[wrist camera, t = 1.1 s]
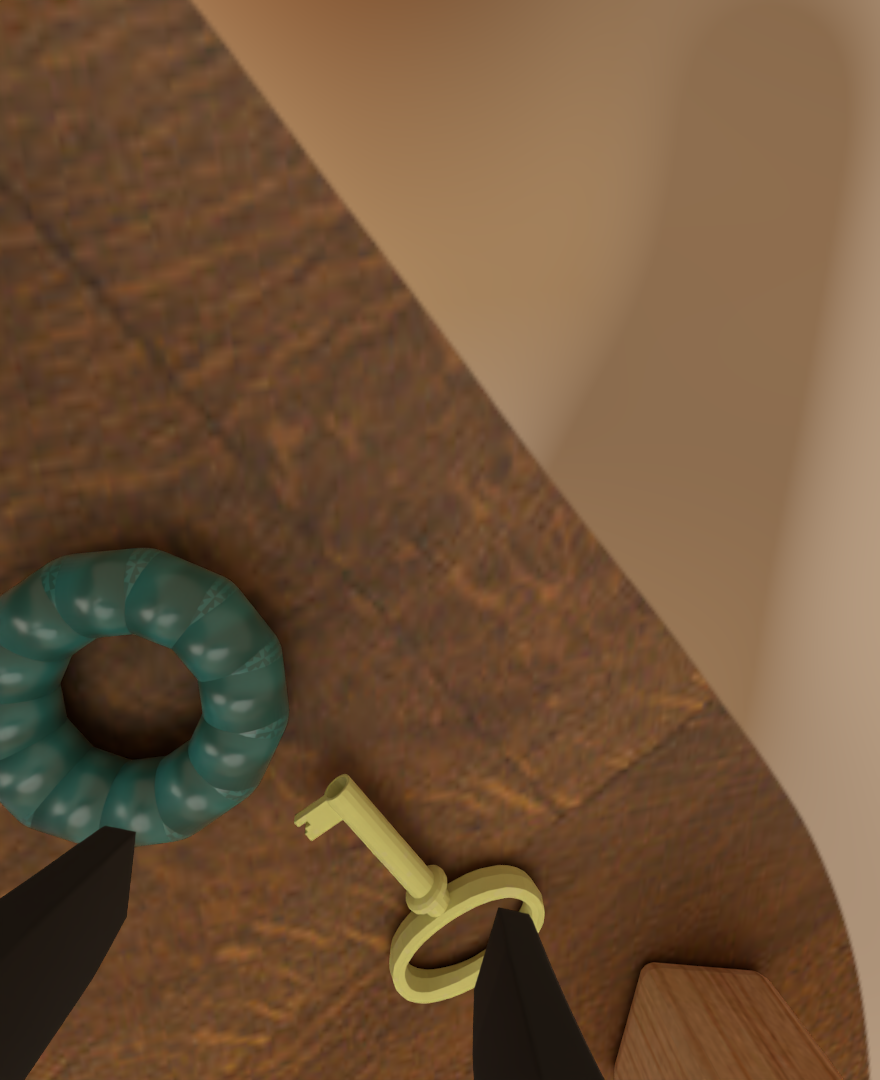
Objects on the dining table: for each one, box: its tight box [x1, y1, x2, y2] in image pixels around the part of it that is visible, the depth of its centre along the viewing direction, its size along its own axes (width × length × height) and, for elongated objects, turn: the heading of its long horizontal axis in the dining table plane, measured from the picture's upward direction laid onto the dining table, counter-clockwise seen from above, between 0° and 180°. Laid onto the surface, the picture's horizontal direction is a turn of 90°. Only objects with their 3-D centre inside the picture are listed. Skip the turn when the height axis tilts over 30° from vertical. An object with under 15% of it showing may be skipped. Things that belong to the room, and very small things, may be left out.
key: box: [294, 774, 545, 1003], centre depth 23 cm, size 7×12×2 cm, turn 52°
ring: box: [0, 548, 289, 847], centre depth 20 cm, size 11×11×3 cm
